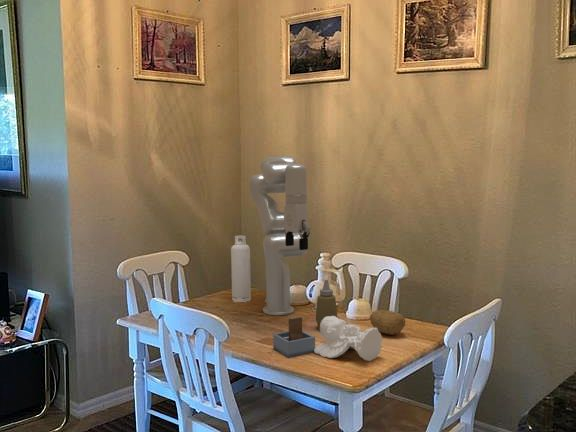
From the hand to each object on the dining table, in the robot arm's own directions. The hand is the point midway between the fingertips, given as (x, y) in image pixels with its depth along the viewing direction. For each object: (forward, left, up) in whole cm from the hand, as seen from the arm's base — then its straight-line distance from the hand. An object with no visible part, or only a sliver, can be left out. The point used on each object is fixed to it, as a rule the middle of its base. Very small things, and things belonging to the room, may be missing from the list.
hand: (296, 247), depth 215 cm
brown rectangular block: (+18, -12, -29) cm, 36 cm away
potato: (+20, +25, -31) cm, 44 cm away
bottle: (-49, +1, -31) cm, 58 cm away
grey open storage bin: (+18, -12, -30) cm, 37 cm away
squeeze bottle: (+4, +10, -31) cm, 32 cm away
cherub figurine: (+31, 0, -31) cm, 43 cm away
